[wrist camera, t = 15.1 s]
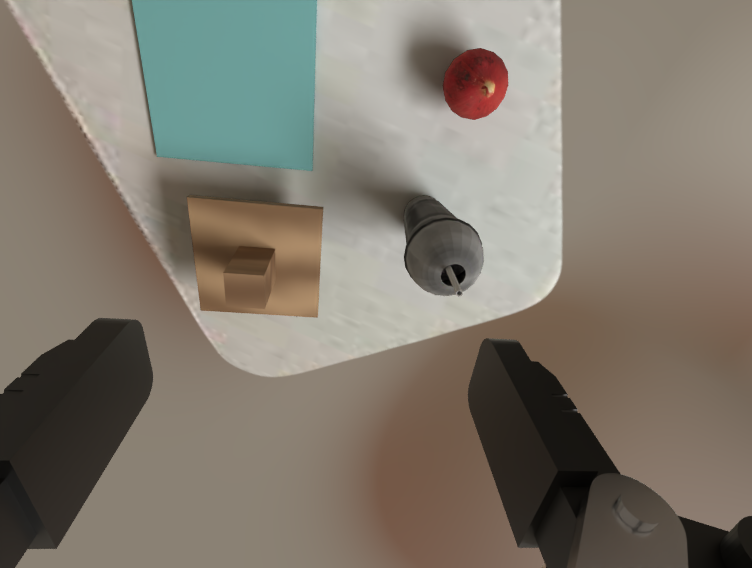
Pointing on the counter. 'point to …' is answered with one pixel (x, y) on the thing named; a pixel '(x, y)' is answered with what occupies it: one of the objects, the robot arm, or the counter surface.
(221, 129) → the mat
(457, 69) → the pomegranate
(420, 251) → the beverage cup
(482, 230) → the counter surface
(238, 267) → the lid
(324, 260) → the counter surface
